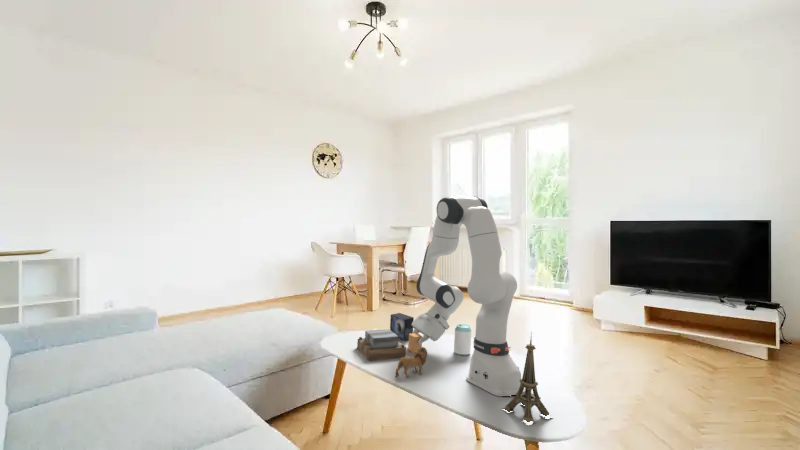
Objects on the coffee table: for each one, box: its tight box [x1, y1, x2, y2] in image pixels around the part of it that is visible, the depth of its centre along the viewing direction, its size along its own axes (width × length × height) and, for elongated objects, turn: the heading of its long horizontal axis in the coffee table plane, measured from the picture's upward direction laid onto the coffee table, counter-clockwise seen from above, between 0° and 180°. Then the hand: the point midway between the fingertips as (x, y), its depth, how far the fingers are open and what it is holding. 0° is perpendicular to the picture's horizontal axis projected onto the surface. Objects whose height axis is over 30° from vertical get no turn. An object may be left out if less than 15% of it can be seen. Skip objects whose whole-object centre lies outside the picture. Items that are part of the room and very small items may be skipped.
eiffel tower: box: [502, 331, 550, 422], centre depth 115 cm, size 11×11×25 cm
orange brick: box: [407, 333, 423, 354], centre depth 167 cm, size 5×4×7 cm
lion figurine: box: [394, 346, 428, 378], centre depth 141 cm, size 15×5×9 cm, turn 131°
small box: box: [389, 312, 415, 342], centre depth 186 cm, size 11×6×10 cm, turn 42°
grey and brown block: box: [356, 328, 407, 362], centre depth 163 cm, size 16×16×8 cm
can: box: [453, 323, 472, 356], centre depth 167 cm, size 7×7×12 cm
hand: (414, 340), depth 167 cm, fingers open, 5 cm apart
